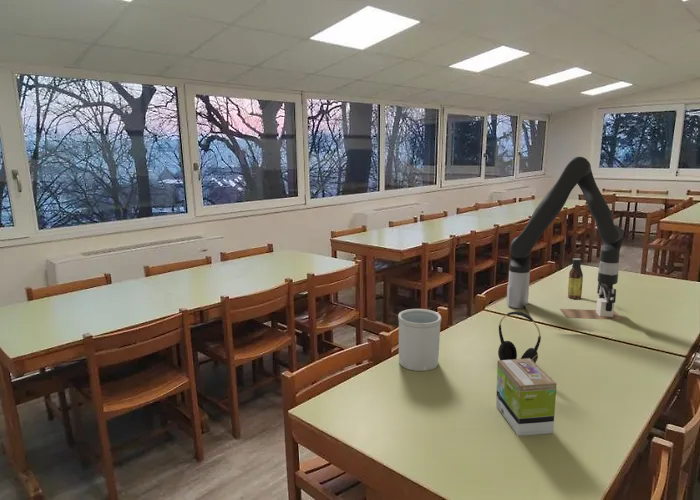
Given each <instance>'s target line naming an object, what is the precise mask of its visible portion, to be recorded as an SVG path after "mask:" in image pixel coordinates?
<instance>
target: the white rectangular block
mask: <svg viewBox="0 0 700 500" xmlns="http://www.w3.org/2000/svg"><path fill="white" fill-rule="evenodd" d="M610 300H611V299H610ZM595 310H596V313H597V314H598V315H599V316H605V317H613V312H614V311H615V303H612V311H606V298H599V297H597V298H596V308H595Z"/></svg>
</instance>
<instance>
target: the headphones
mask: <svg viewBox="0 0 700 500" xmlns="http://www.w3.org/2000/svg"><path fill="white" fill-rule="evenodd" d="M511 315H513V316H514V315H516V316H521V317H524V318H526V319H527V320H529V321H530V322H532V323H533V324H534V325H535V327H536V329H537V332H538V337H537V341H536V344H535V346H534V347H529V348H527V349H526V351H524V353H523V354H522V355H521V358H520V359H526V358H530V359H531V360H532V361H533V362H534V363H535V364H537V361H538V359H539V353H538V349H539V346H540V344H541V340H542V339H541V338H542V335H541V330H540V328H539V326H538V325H537V323H536V322H535V320H534V319H533V318H532V317H531V316H530V315H528V314H527V313H525V312H522V311H516V310H515V311H510V312H508V313H506V314H505V315H504V316H502V318H501V319H500V320H499V324H498V335H499V340H500V344H499V346H498V350H497V355H498V360H513V359H517V357H518V352H517V348H516V346H515V344H514V343H513V342H512V341H510V340H505V339H504V336H503V332H502V322H503V320H504V319H505V318H506V317H507V316H511Z"/></svg>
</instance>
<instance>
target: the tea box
mask: <svg viewBox="0 0 700 500" xmlns="http://www.w3.org/2000/svg"><path fill="white" fill-rule="evenodd" d="M496 371H497V374H496V395H495V396H496V397H495V405H496V407H497V409H498V410H499V411H500V413H501V415H502V416H503V417H504V418H505V420H506V421H507V423H508V424H509V425H510V427H511V428H512V430H513V431H514V432H515V433H516V435H517V436H518V437H521V436H522V437H523V436H534V435H535V436H537V435H538V436H539V435H548V434H553V433H554V427H555V413H556V412H555V411H556V398H557V382H556V381H555V380H553V378H551V377H550V376H549V374H547V373H546V372H545V370H543V369H542V368H541V367H540V366H539V365H538V364H537V363H534V362H533V361H532V360H531V359H530V358H526V359H521V358H518V359H513V360H500V359H498V360H497V368H496Z"/></svg>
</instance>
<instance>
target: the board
mask: <svg viewBox="0 0 700 500" xmlns="http://www.w3.org/2000/svg"><path fill="white" fill-rule="evenodd" d="M559 310H560V311H561V313H562V314H563V315H564V316H565V317H566V318H567V319H583V320H584V319H585V320H586V319H589V320H592V319H593V320H610V321H611V320H613V321H617V320H618V321H625V319H624V318H623V317H622V316H621V315H620V314H618V312H616V311H615V310H614V312H613V317H605V316H599V315H598V314H597V313H596V309H578V308H577V309H574V308H573V309H571V308H559Z"/></svg>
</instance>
